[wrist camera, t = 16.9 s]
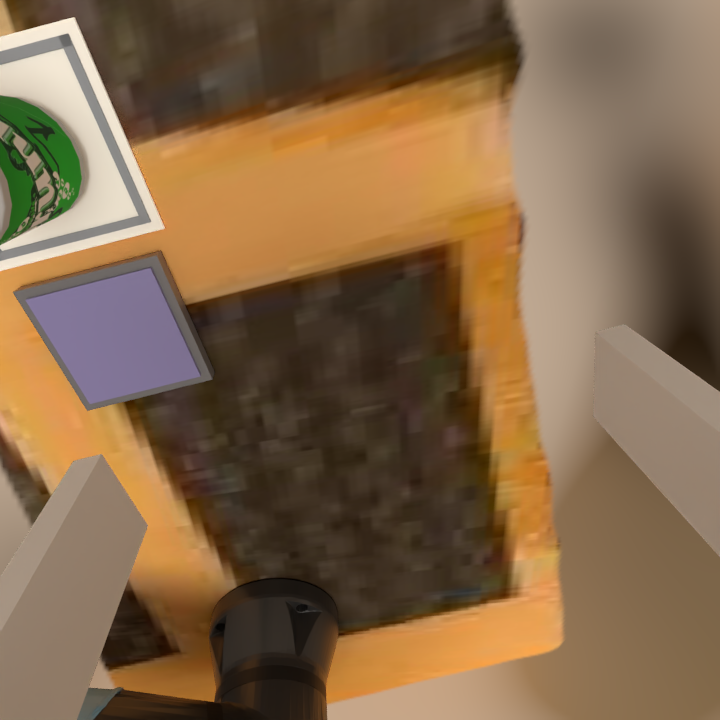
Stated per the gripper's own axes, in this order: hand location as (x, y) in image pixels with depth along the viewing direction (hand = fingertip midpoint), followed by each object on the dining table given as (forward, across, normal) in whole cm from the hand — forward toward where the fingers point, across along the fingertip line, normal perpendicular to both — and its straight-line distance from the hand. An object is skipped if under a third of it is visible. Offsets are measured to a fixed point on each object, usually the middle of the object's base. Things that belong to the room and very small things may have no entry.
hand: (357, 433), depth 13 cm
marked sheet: (+27, +18, -8) cm, 33 cm away
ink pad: (+27, +18, +5) cm, 33 cm away
